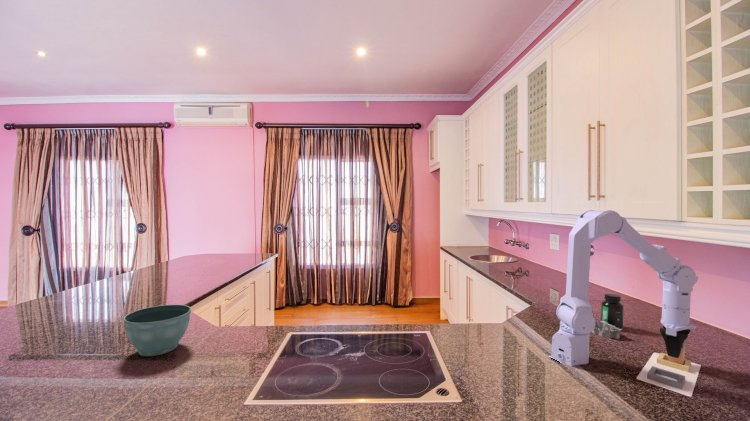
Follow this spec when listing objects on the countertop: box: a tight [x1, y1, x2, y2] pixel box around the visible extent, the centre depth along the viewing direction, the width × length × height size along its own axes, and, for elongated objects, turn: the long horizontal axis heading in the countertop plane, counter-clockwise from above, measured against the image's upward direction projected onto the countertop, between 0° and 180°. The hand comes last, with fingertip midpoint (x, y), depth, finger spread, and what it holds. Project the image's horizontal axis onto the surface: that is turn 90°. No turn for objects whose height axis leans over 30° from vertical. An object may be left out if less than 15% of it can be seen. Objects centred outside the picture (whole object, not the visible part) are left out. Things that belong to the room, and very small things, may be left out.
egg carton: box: [591, 320, 623, 340], centre depth 113 cm, size 11×8×4 cm
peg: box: [668, 341, 686, 365], centre depth 89 cm, size 3×3×6 cm
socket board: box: [636, 352, 702, 398], centre depth 85 cm, size 24×10×2 cm, turn 131°
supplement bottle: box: [600, 293, 625, 330], centre depth 119 cm, size 7×7×12 cm
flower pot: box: [123, 304, 192, 357], centre depth 93 cm, size 16×16×11 cm
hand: (674, 354), depth 89 cm, fingers closed on peg, 3 cm apart
